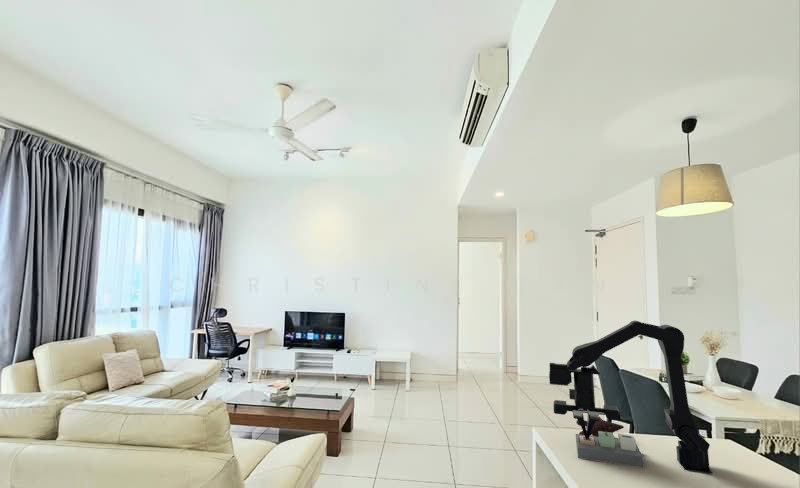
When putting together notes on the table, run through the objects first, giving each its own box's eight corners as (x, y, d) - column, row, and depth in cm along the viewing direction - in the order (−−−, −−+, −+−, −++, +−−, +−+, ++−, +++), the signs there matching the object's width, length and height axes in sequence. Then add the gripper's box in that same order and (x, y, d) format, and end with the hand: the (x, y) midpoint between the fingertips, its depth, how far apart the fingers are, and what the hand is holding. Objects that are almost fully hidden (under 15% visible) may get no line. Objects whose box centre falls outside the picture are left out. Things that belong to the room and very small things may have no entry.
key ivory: (633, 448, 115) (632, 434, 115) (636, 453, 111) (635, 439, 112) (618, 446, 116) (618, 432, 117) (621, 451, 113) (620, 437, 113)
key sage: (613, 445, 117) (612, 432, 117) (615, 450, 113) (614, 436, 114) (599, 443, 118) (598, 430, 119) (600, 448, 115) (599, 435, 115)
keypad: (635, 451, 117) (635, 441, 118) (643, 467, 107) (642, 456, 108) (576, 443, 124) (575, 433, 124) (578, 457, 114) (577, 447, 114)
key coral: (594, 449, 119) (593, 436, 119) (595, 455, 115) (594, 441, 116) (580, 447, 120) (579, 434, 121) (581, 453, 117) (580, 439, 117)
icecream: (617, 414, 132) (572, 416, 134) (625, 416, 125) (578, 418, 127) (622, 436, 130) (577, 438, 132) (631, 439, 123) (583, 441, 125)
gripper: (613, 383, 124) (616, 432, 122) (552, 378, 131) (555, 425, 129) (618, 392, 113) (622, 446, 112) (552, 386, 120) (555, 437, 119)
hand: (587, 438), depth 118 cm, fingers closed, pressing on key coral
